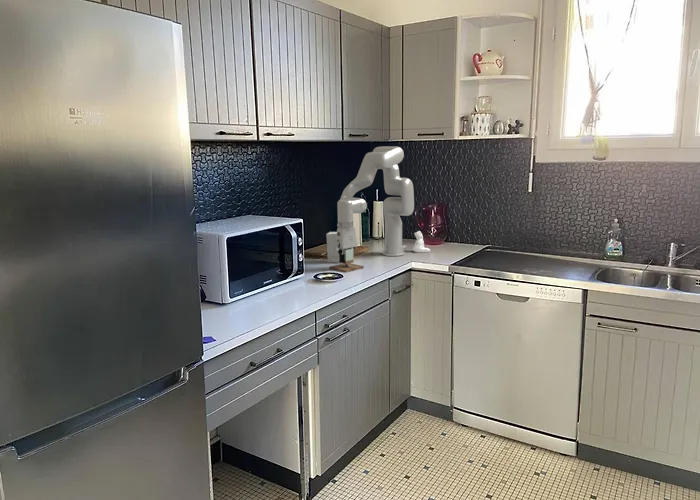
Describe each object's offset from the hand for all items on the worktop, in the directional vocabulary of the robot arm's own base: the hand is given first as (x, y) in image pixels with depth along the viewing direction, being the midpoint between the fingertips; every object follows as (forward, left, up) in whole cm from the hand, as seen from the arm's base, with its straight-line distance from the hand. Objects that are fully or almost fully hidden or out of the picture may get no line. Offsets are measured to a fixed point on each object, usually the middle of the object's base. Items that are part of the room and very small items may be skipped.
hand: (346, 260), depth 266 cm
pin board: (0, 0, -4) cm, 4 cm away
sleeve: (0, 0, -1) cm, 1 cm away
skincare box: (-7, -15, -4) cm, 17 cm away
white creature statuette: (-56, +2, -4) cm, 56 cm away
